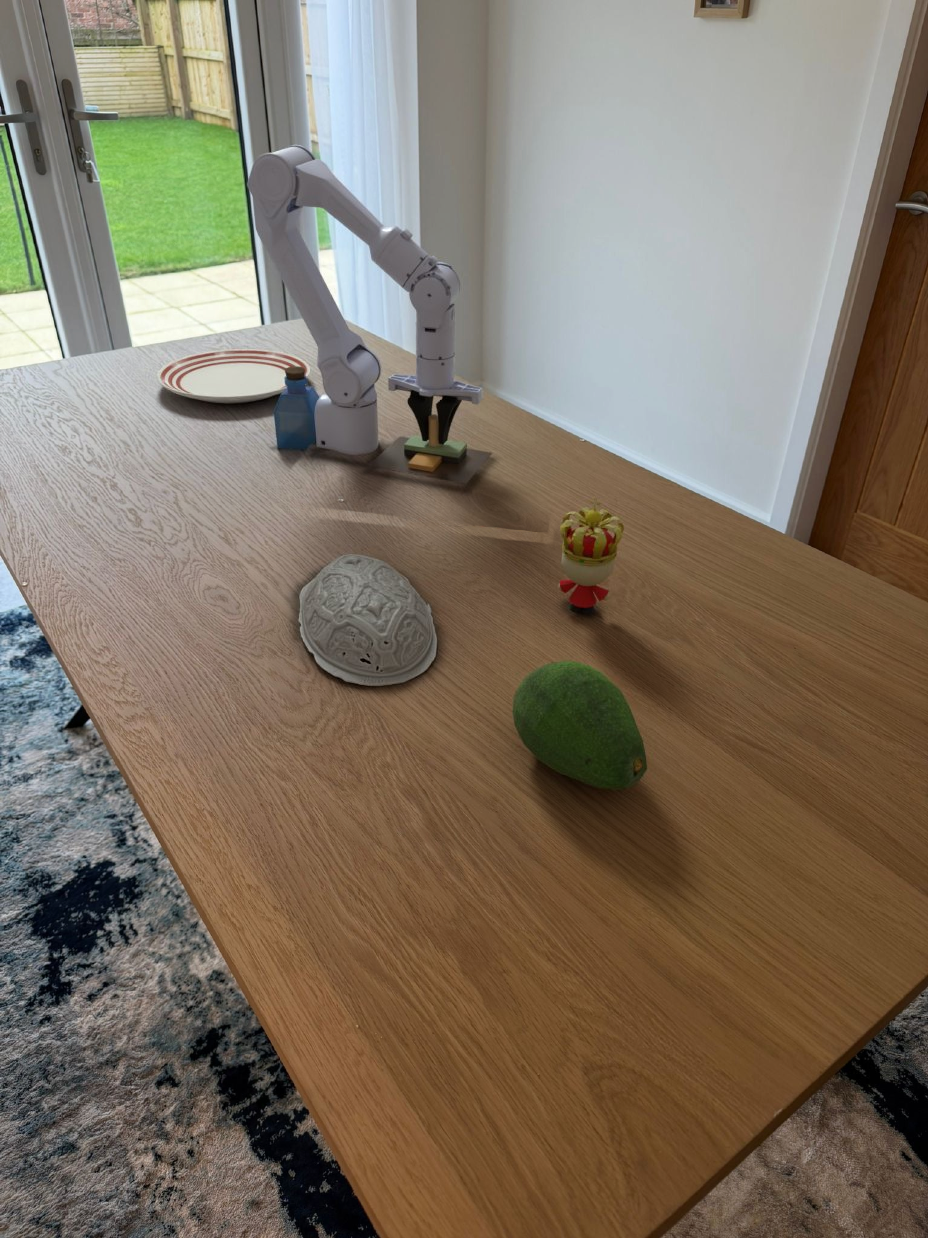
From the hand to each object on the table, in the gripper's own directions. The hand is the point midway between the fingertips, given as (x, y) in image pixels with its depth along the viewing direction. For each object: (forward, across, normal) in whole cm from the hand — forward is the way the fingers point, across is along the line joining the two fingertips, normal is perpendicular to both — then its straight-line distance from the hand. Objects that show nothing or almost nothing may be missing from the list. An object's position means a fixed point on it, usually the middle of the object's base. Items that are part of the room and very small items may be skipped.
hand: (434, 440), depth 139 cm
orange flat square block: (+2, 0, -4) cm, 5 cm away
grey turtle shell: (+4, +9, -44) cm, 45 cm away
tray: (+4, 0, -1) cm, 4 cm away
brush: (+2, 0, 0) cm, 2 cm away
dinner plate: (+4, -46, +16) cm, 49 cm away
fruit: (+4, +38, -58) cm, 69 cm away
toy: (+4, +32, -32) cm, 45 cm away
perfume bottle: (+4, -23, -1) cm, 23 cm away
